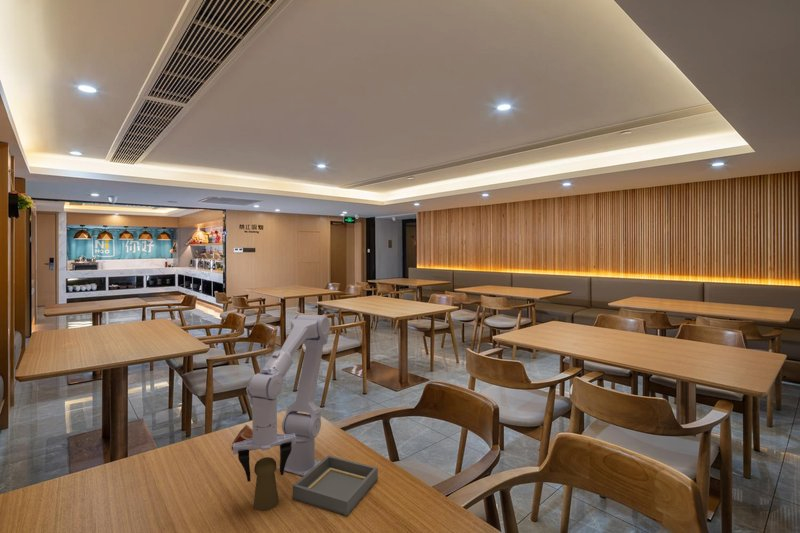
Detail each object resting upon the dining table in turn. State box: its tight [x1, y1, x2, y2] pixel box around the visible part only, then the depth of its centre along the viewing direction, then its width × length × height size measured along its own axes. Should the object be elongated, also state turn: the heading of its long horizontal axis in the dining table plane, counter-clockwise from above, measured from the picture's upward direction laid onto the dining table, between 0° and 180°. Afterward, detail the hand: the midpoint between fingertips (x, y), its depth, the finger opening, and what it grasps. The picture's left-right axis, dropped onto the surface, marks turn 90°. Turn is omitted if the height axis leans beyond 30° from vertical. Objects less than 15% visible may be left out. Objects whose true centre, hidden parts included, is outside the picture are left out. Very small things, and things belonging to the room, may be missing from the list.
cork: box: [252, 456, 280, 512], centre depth 100 cm, size 6×6×11 cm
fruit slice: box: [232, 424, 253, 445], centre depth 129 cm, size 8×7×5 cm
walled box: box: [292, 454, 379, 517], centre depth 106 cm, size 16×16×4 cm
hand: (265, 476), depth 100 cm, fingers open, 7 cm apart
